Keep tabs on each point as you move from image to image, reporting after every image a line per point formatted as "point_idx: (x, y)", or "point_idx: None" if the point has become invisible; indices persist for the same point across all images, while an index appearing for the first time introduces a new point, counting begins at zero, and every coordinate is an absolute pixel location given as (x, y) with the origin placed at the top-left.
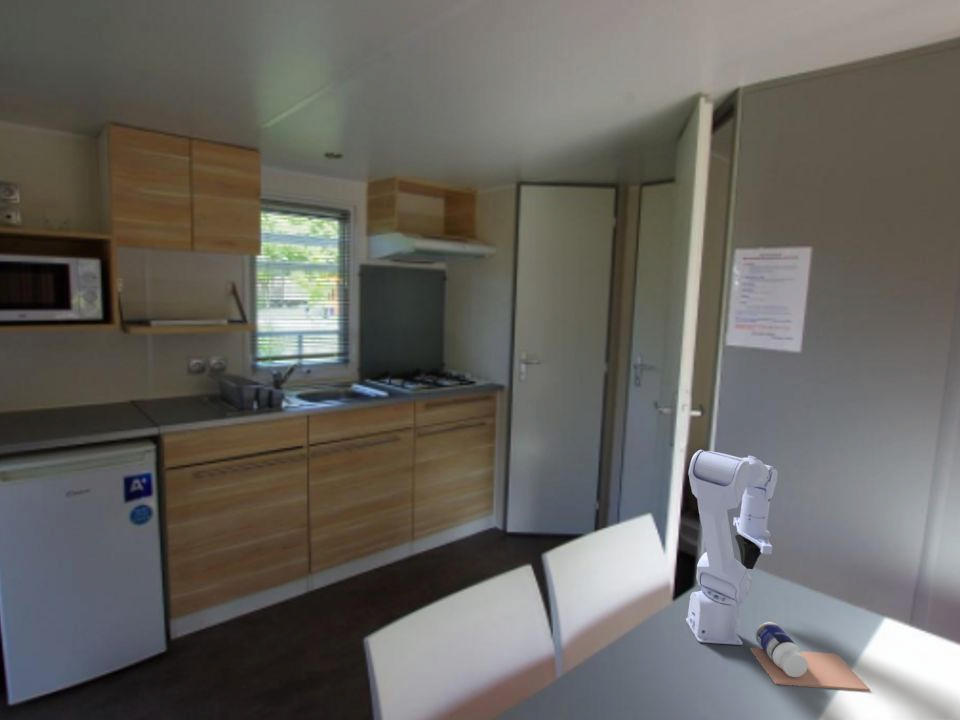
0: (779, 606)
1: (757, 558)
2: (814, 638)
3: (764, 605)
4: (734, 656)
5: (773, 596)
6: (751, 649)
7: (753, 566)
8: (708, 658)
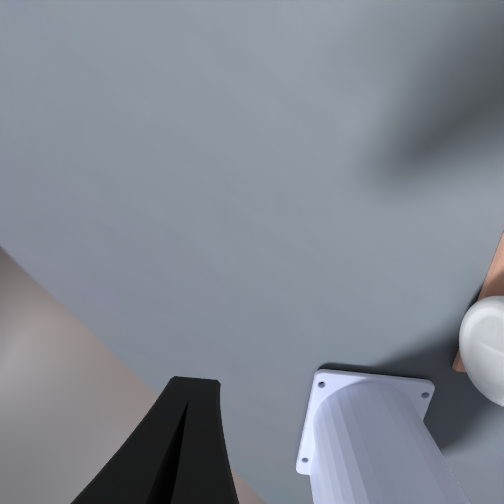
0: (204, 77)
1: (232, 484)
2: (447, 74)
3: (201, 153)
4: (466, 421)
5: (116, 48)
6: (459, 370)
7: (219, 400)
8: (457, 479)
